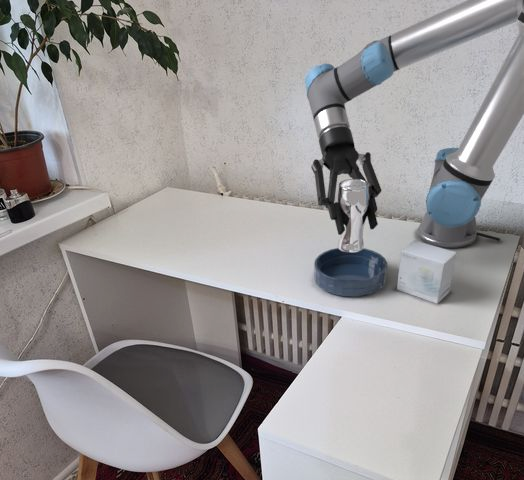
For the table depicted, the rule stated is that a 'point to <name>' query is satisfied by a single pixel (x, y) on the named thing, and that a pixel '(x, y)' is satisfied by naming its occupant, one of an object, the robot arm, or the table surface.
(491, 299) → the table surface
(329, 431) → the table surface
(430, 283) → the cosmetics box
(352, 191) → the beer glass
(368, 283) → the bowl
